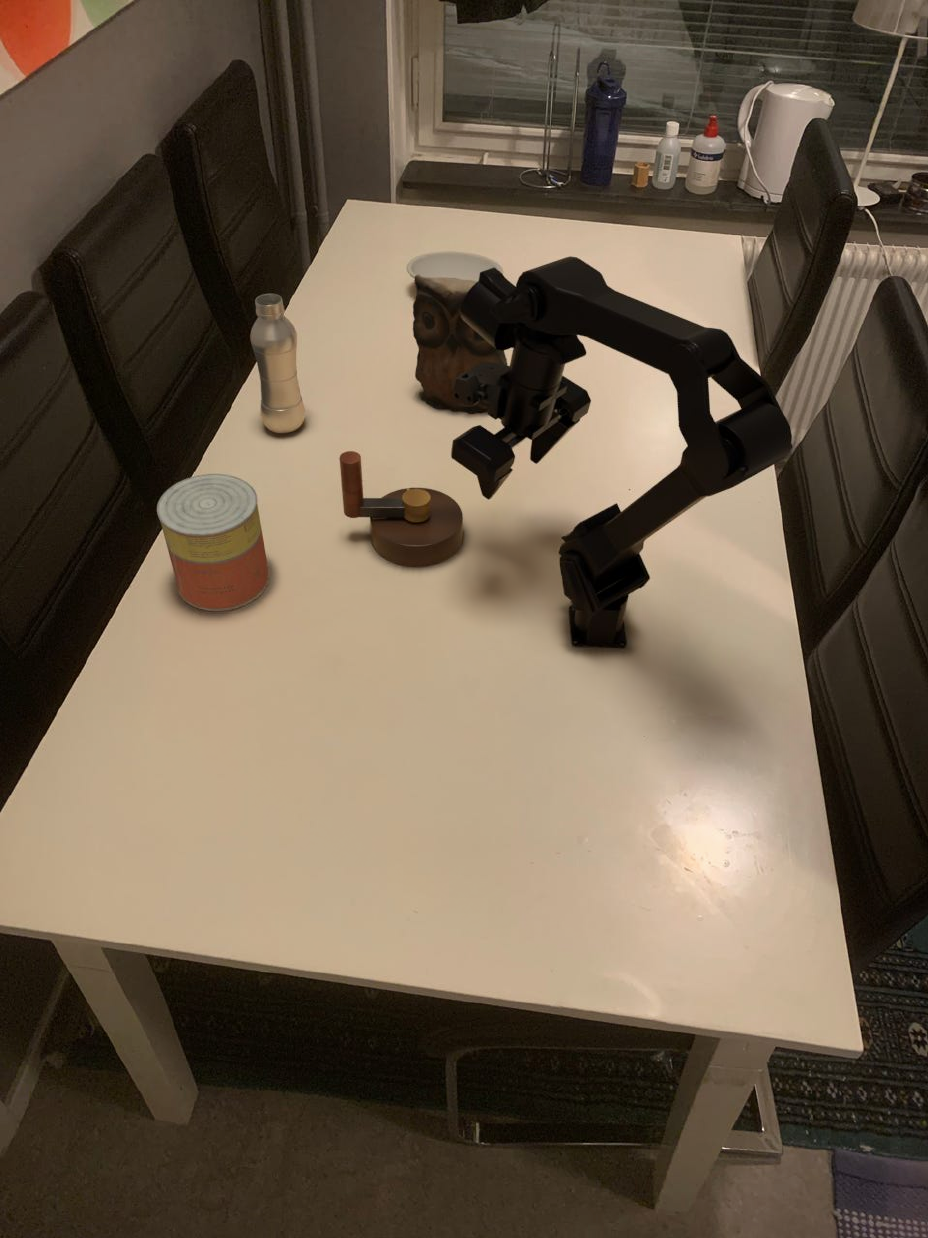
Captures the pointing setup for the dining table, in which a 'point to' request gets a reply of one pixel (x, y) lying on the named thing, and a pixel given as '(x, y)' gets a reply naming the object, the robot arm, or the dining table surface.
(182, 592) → the canned food
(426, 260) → the dish
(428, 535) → the crank base
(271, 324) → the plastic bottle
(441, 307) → the owl
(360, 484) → the crank handle
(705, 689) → the dining table surface
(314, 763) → the dining table surface
